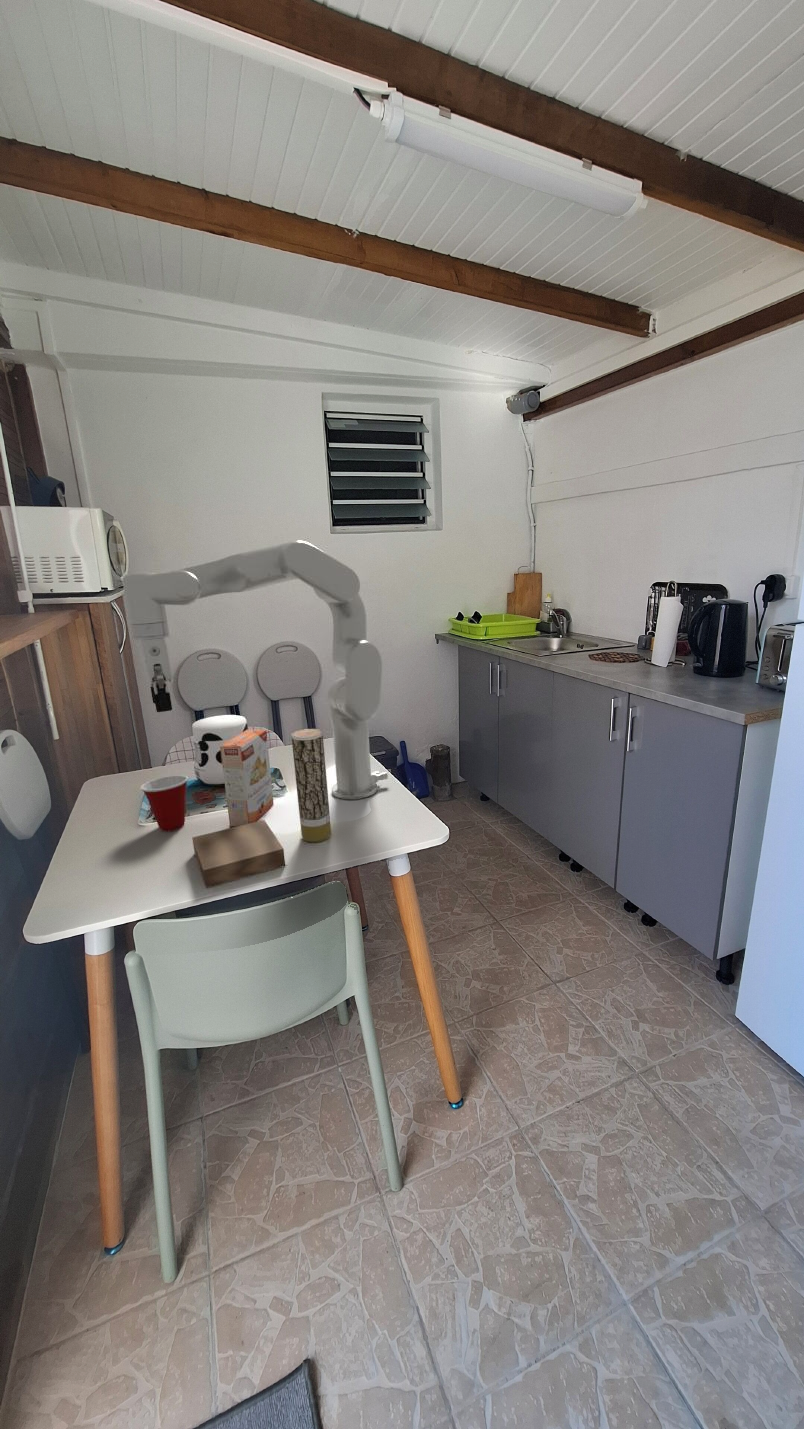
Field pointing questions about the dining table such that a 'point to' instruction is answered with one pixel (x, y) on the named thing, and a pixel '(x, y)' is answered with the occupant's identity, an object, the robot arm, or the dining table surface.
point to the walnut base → (237, 853)
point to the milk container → (214, 745)
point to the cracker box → (247, 776)
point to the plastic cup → (167, 800)
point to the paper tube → (311, 784)
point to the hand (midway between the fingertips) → (162, 706)
